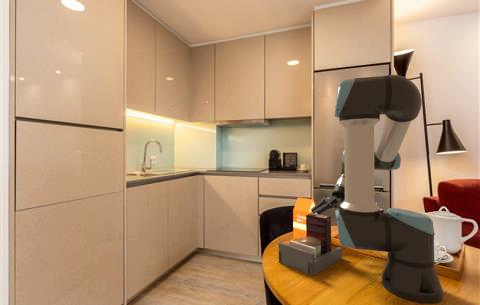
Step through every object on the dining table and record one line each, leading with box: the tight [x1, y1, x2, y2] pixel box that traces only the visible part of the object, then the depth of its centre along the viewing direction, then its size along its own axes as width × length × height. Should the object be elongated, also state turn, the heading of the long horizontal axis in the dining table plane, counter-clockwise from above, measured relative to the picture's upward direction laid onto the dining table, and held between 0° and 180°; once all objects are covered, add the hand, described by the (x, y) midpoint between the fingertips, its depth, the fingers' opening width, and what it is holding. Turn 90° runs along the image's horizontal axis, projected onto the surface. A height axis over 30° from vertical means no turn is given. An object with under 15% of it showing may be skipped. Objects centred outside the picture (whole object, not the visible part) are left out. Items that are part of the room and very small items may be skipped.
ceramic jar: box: [297, 237, 321, 258], centre depth 91 cm, size 8×8×8 cm
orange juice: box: [292, 197, 316, 240], centre depth 118 cm, size 8×9×20 cm
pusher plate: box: [289, 239, 316, 259], centre depth 88 cm, size 10×1×7 cm, turn 41°
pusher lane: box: [278, 242, 343, 277], centre depth 92 cm, size 14×21×8 cm, turn 131°
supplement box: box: [306, 213, 332, 255], centre depth 96 cm, size 9×5×16 cm, turn 47°
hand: (326, 230), depth 100 cm, fingers open, 13 cm apart
